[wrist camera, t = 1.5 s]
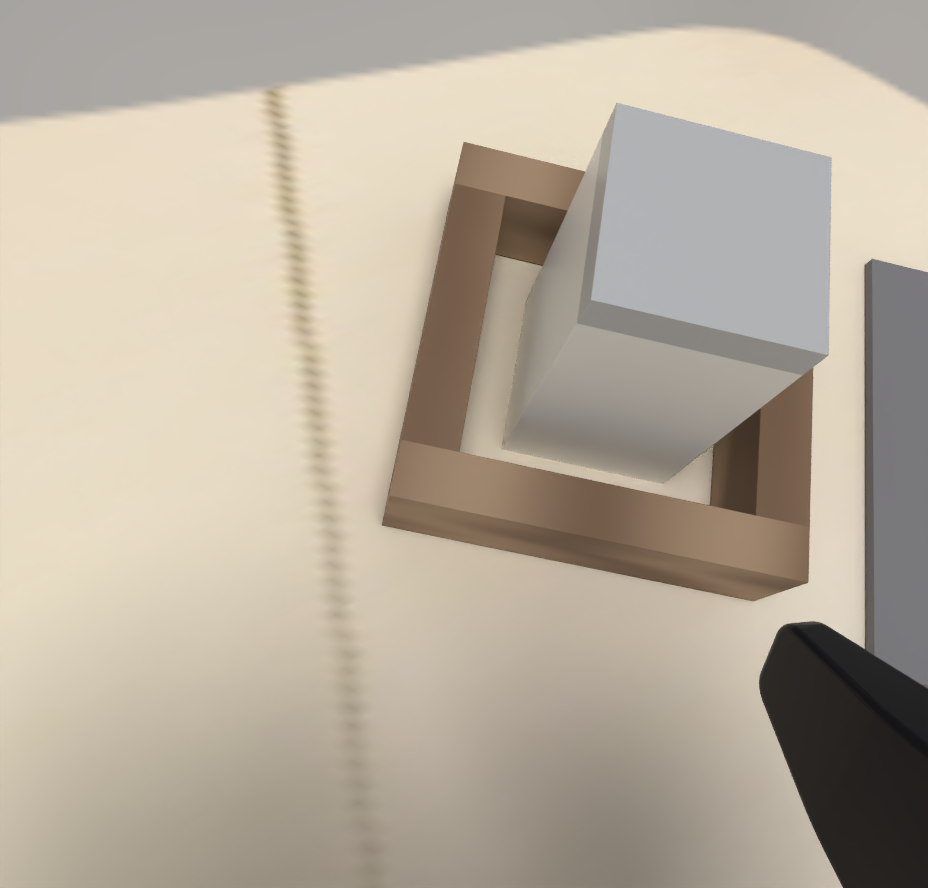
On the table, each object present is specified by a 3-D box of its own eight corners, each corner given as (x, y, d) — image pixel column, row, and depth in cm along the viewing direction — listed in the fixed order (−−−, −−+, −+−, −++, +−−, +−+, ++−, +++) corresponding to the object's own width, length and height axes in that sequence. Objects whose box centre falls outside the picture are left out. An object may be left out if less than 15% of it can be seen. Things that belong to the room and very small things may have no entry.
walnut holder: (768, 279, 29) (816, 228, 26) (753, 600, 25) (808, 582, 22) (449, 202, 28) (463, 141, 25) (381, 525, 24) (389, 495, 21)
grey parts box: (675, 338, 27) (831, 157, 19) (663, 483, 26) (828, 355, 17) (525, 303, 27) (616, 102, 19) (501, 449, 25) (590, 299, 17)
